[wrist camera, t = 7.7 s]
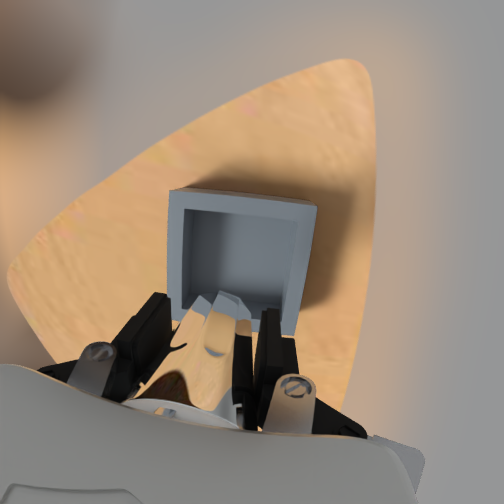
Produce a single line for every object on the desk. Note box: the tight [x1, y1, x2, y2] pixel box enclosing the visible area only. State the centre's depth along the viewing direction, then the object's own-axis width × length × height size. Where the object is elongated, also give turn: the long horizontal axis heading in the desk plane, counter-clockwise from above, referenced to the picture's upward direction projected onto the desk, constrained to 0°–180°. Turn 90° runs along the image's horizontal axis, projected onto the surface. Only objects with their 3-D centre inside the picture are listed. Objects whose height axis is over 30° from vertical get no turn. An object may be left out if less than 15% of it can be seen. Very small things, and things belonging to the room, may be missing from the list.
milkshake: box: [118, 290, 258, 431], centre depth 9 cm, size 4×5×10 cm
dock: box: [167, 187, 318, 336], centre depth 22 cm, size 10×10×4 cm
